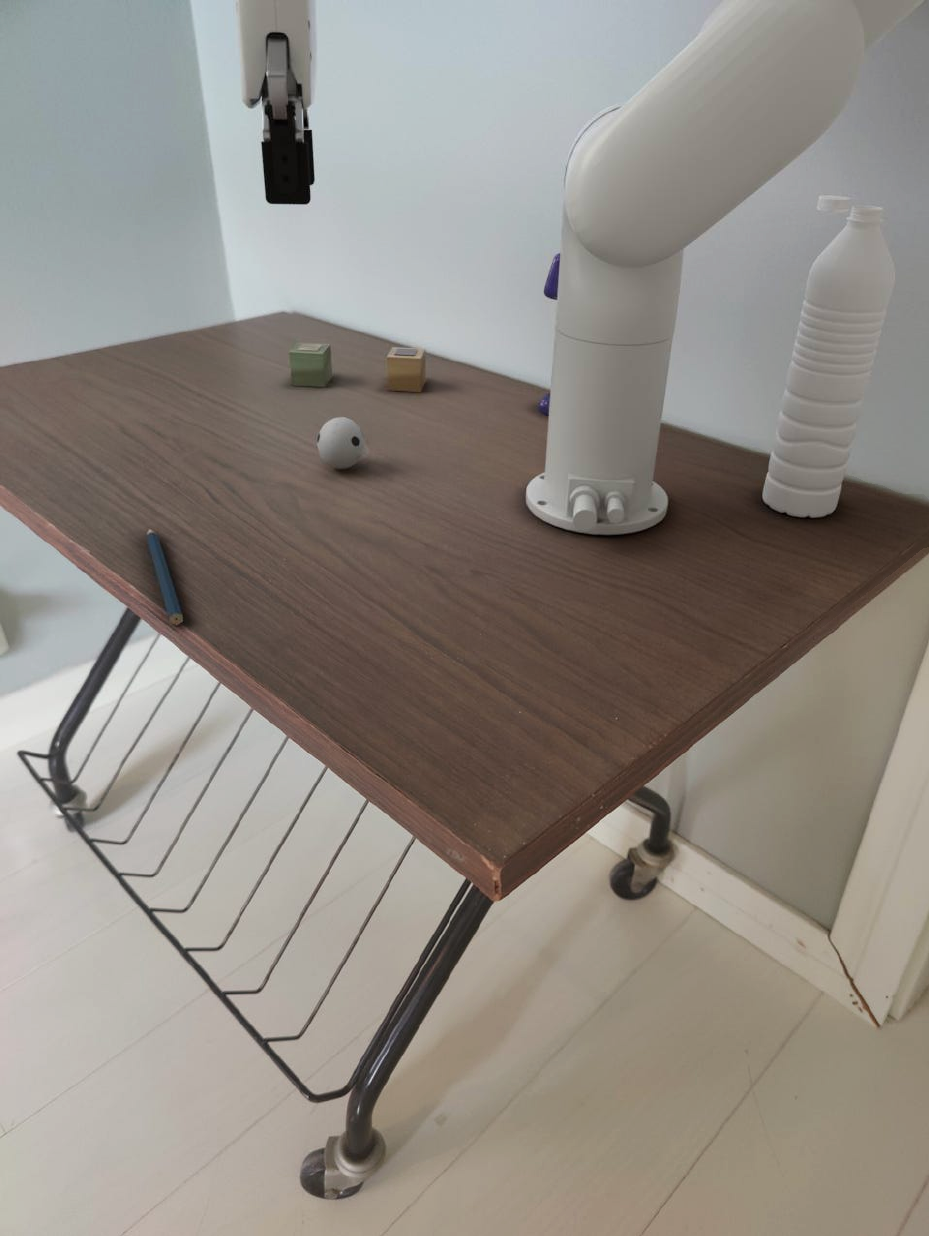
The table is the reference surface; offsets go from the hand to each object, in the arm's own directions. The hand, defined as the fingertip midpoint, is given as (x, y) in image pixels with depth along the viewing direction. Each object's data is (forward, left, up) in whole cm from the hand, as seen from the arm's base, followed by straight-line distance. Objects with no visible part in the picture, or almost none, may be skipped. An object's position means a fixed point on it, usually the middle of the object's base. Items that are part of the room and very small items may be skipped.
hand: (292, 193), depth 71 cm
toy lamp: (+24, -22, -25) cm, 41 cm away
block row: (+30, +2, -25) cm, 39 cm away
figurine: (+5, -2, -25) cm, 26 cm away
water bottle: (+4, -44, -25) cm, 51 cm away
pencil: (-24, +4, -24) cm, 34 cm away
